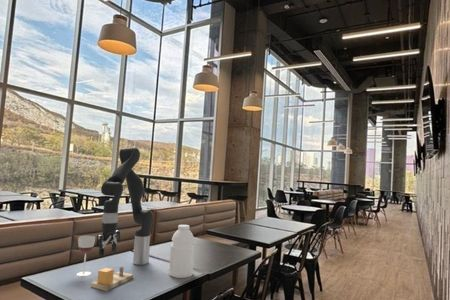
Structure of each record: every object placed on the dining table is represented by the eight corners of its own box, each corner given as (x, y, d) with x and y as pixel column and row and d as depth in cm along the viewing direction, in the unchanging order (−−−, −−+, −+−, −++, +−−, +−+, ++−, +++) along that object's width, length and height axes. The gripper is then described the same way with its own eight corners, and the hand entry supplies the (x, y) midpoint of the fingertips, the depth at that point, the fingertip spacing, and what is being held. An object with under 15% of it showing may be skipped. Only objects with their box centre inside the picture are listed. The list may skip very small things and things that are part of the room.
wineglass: (75, 271, 172) (79, 235, 174) (92, 270, 175) (95, 235, 177) (74, 276, 165) (77, 239, 166) (92, 275, 168) (95, 238, 169)
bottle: (176, 280, 169) (179, 228, 171) (164, 272, 179) (167, 224, 181) (197, 275, 178) (200, 226, 179) (184, 268, 188) (187, 222, 190)
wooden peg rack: (118, 274, 171) (119, 263, 172) (133, 278, 168) (133, 267, 168) (90, 286, 153) (91, 274, 153) (106, 290, 149) (107, 278, 150)
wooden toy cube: (104, 279, 158) (105, 267, 159) (112, 281, 156) (113, 269, 157) (97, 282, 153) (98, 270, 154) (105, 284, 152) (106, 272, 152)
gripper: (113, 218, 165) (111, 249, 164) (93, 222, 151) (91, 255, 151) (125, 220, 162) (123, 251, 161) (105, 224, 149) (103, 258, 148)
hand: (107, 253), depth 156 cm, fingers open, 8 cm apart
